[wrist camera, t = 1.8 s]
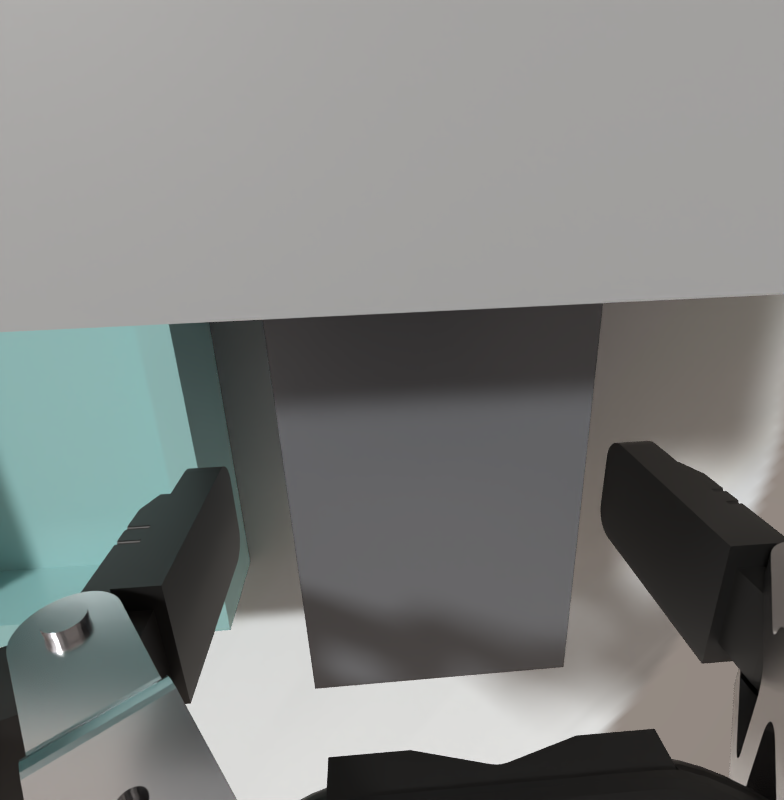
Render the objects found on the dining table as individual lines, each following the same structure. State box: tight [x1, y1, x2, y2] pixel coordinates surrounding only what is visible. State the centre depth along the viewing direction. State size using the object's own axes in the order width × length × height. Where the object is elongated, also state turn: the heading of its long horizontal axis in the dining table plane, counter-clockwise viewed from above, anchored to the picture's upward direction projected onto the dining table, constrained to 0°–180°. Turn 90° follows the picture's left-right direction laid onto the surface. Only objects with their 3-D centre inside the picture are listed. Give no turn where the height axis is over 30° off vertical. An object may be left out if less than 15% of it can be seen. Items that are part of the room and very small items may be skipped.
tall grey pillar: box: [263, 303, 603, 689], centre depth 12 cm, size 13×5×8 cm, turn 3°
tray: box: [0, 322, 250, 647], centre depth 13 cm, size 18×9×3 cm, turn 2°
